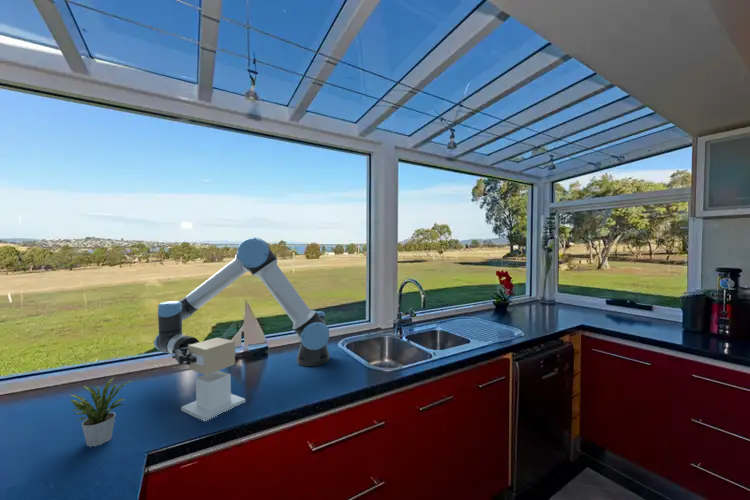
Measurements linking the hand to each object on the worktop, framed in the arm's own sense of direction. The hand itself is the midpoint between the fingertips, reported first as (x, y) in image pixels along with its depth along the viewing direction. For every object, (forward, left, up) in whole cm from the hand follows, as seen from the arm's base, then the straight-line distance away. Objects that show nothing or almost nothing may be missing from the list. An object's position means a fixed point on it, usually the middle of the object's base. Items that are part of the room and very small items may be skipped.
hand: (219, 355), depth 102 cm
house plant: (+27, +11, -18) cm, 34 cm away
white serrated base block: (+3, -3, -18) cm, 18 cm away
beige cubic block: (+3, -3, -4) cm, 6 cm away
